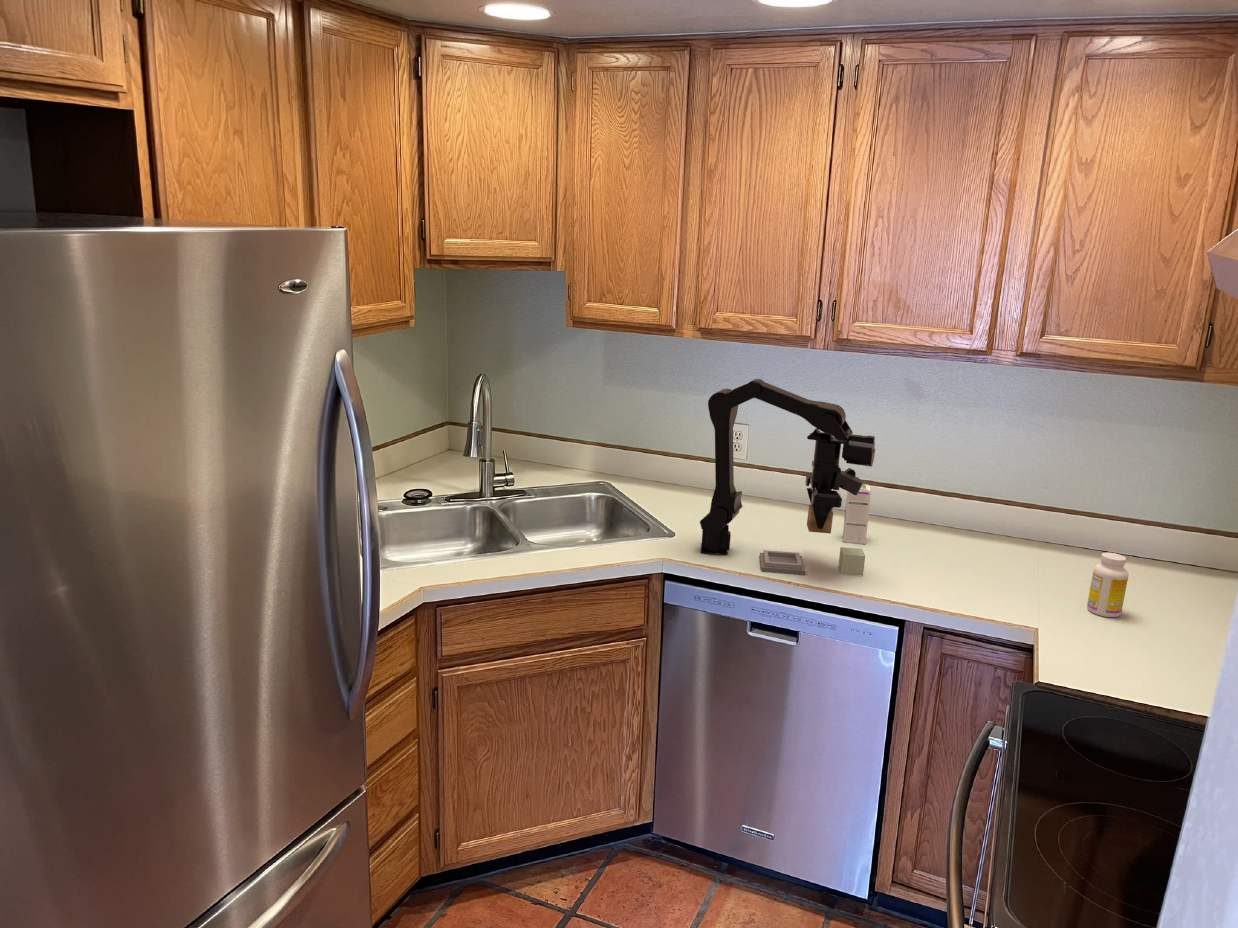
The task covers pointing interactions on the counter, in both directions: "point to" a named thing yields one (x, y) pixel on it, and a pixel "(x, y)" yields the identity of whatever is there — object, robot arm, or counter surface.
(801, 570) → the base plate
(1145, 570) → the counter surface
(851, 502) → the syrup box
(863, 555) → the sage block
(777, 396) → the robot arm
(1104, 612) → the supplement bottle
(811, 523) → the walnut block
